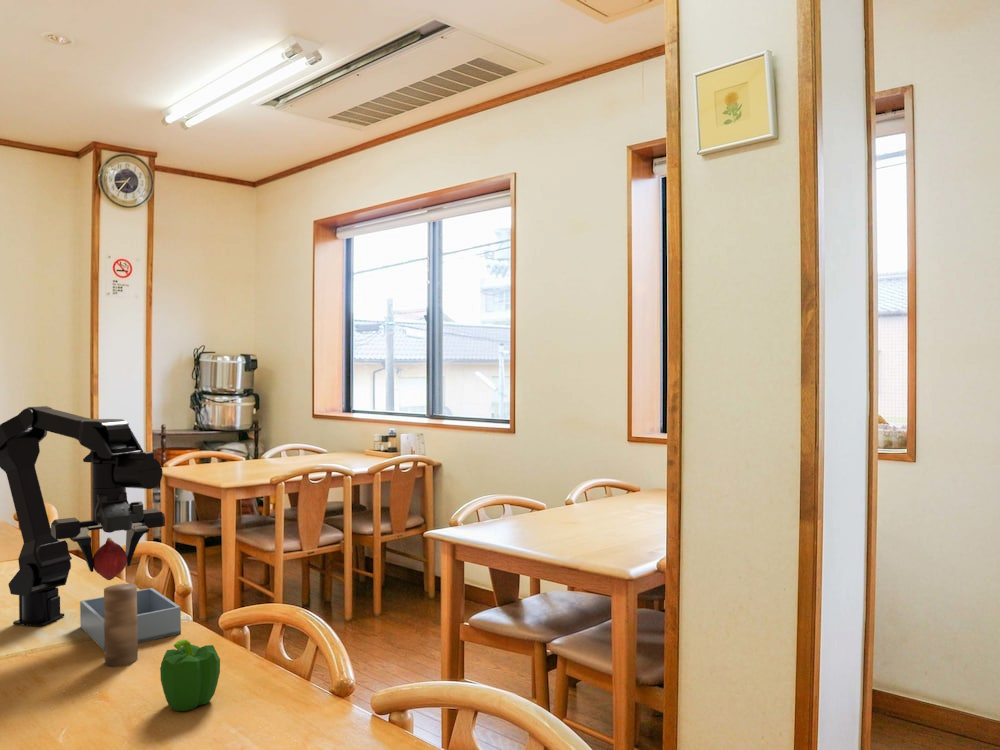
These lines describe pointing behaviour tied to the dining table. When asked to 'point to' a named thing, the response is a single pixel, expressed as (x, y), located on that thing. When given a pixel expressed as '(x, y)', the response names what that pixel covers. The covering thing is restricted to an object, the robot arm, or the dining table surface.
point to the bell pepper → (189, 675)
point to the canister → (120, 624)
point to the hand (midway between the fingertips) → (109, 568)
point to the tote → (152, 617)
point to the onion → (109, 559)
